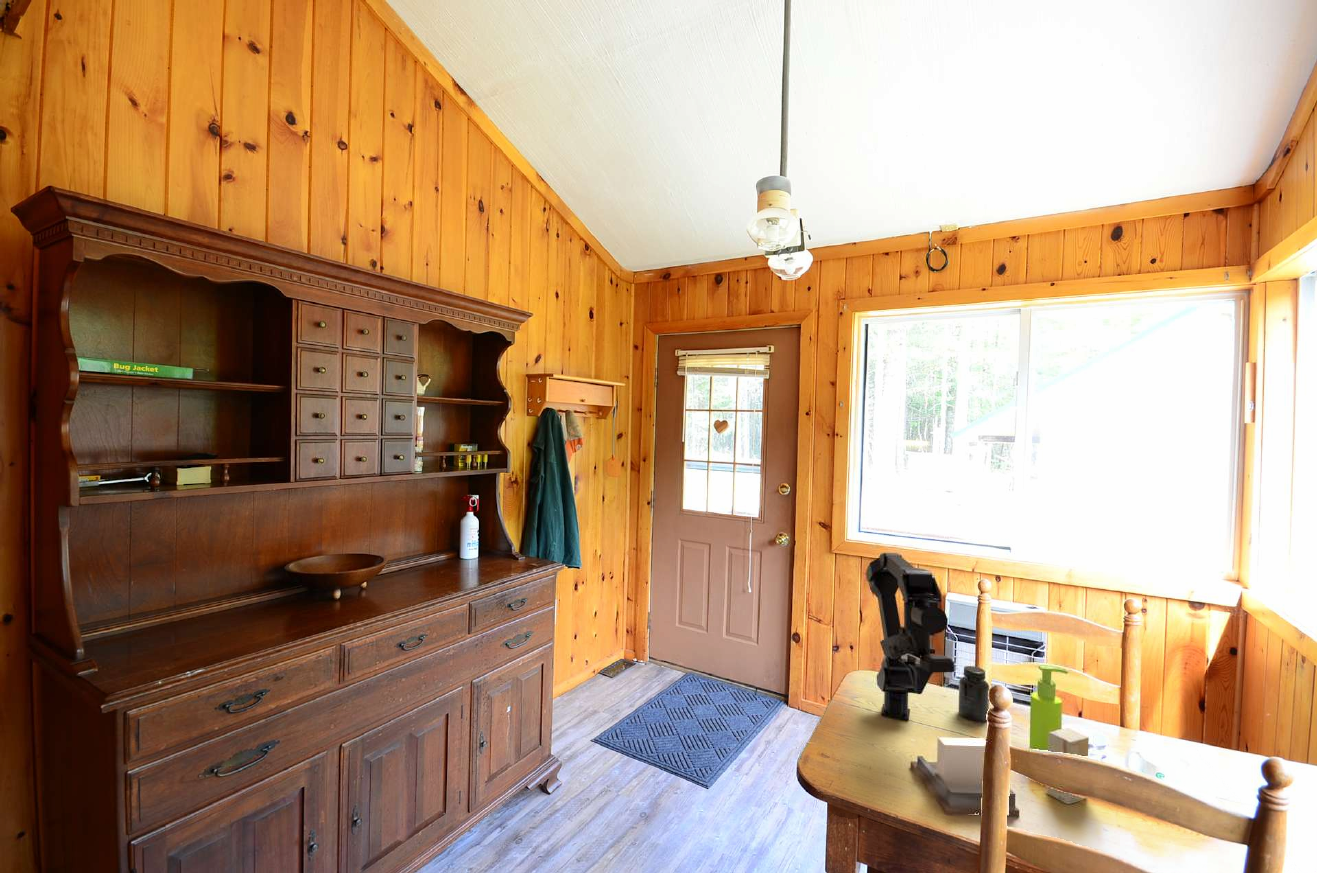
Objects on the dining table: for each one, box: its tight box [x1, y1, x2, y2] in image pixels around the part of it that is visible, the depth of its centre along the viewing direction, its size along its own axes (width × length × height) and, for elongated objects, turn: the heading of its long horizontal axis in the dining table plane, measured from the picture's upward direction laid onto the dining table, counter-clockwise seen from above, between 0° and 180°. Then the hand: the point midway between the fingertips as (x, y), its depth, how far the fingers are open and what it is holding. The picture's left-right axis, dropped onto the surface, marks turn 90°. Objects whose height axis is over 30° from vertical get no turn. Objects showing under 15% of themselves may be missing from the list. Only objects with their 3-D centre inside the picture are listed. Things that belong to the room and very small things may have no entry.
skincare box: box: [1046, 727, 1090, 805], centre depth 118 cm, size 6×4×12 cm
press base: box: [909, 755, 1020, 818], centre depth 118 cm, size 16×14×4 cm
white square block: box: [936, 736, 987, 788], centre depth 118 cm, size 4×9×9 cm, turn 90°
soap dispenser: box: [1029, 664, 1069, 750], centre depth 132 cm, size 6×7×20 cm
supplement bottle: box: [958, 665, 990, 723], centre depth 151 cm, size 7×7×12 cm
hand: (918, 693), depth 137 cm, fingers closed
